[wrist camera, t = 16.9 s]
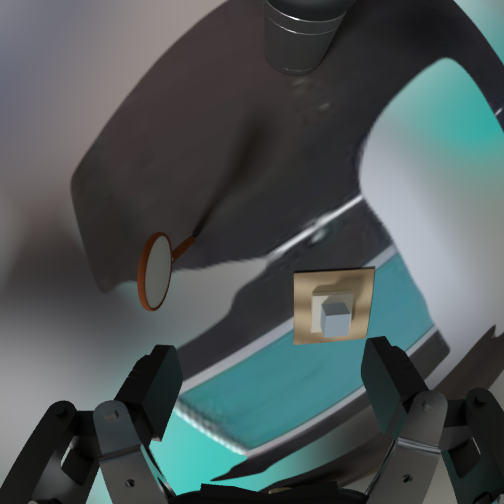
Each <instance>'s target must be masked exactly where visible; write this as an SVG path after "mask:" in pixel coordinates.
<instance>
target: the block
mask: <svg viewBox="0 0 504 504" xmlns="http://www.w3.org/2000/svg"><path fill="white" fill-rule="evenodd" d="M350 316H351V314H350V312H349V310H348V308H347V306H346V305H345V303H331V304H321V316H320V327H321V330H322V333H323V336H324V338H325V337H337V336H348V332H349V324H350Z"/></svg>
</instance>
